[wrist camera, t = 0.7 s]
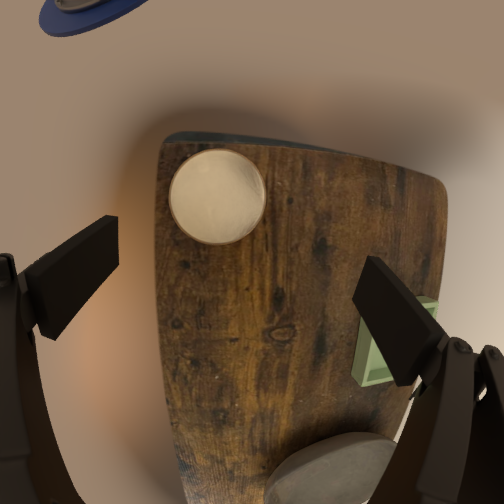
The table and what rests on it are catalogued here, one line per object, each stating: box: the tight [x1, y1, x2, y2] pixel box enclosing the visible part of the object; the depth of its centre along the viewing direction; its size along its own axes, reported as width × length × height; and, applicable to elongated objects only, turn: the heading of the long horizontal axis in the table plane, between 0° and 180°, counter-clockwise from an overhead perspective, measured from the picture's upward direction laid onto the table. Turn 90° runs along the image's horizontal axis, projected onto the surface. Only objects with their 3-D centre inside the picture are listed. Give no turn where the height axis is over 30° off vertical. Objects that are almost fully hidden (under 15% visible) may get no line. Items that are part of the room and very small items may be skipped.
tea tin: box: [169, 148, 267, 245], centre depth 22 cm, size 6×6×11 cm
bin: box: [351, 296, 439, 387], centre depth 30 cm, size 10×10×3 cm
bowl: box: [263, 432, 397, 504], centre depth 30 cm, size 21×21×8 cm
